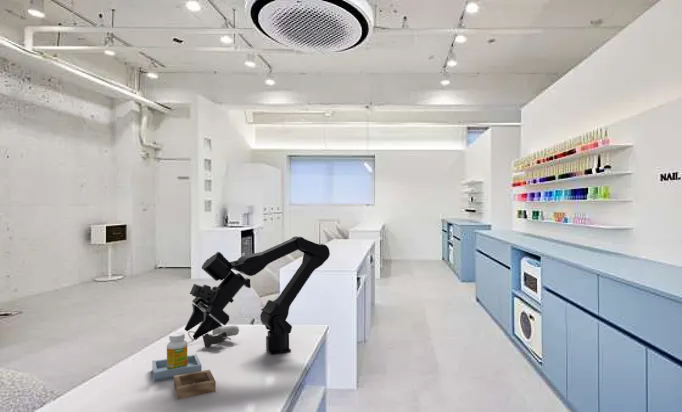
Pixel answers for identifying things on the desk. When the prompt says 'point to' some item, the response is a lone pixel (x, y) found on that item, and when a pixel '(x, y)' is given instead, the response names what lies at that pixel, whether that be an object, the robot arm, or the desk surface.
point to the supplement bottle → (176, 351)
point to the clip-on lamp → (218, 335)
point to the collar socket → (190, 387)
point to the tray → (163, 374)
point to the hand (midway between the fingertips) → (189, 334)
